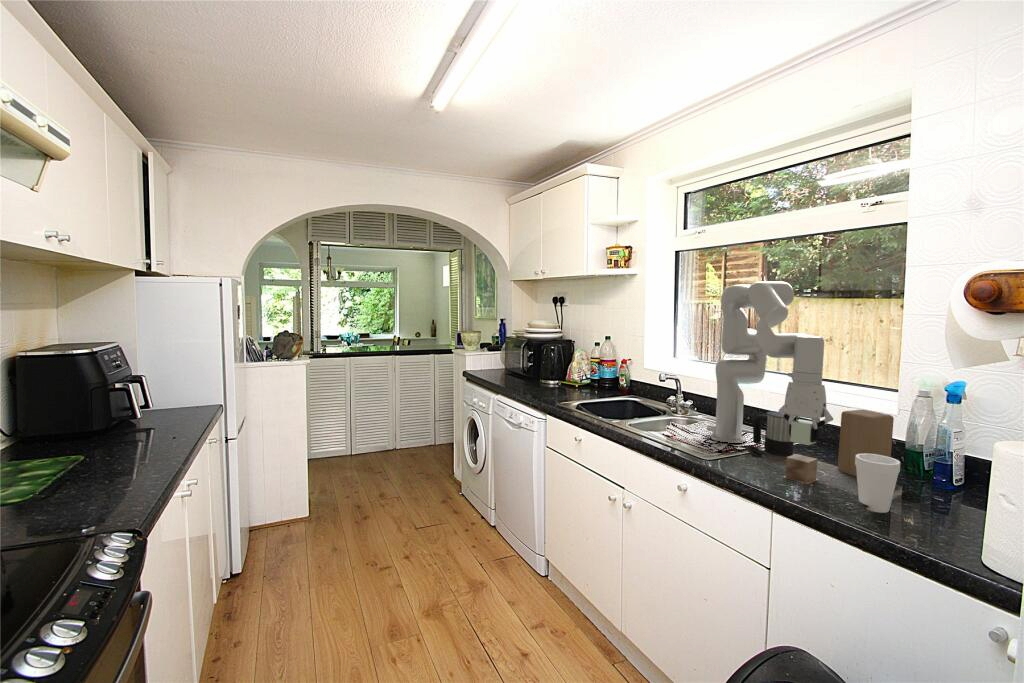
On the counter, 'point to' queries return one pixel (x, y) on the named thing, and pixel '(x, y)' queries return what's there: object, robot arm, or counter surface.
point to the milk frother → (772, 435)
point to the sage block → (801, 432)
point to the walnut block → (801, 468)
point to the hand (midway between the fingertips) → (803, 438)
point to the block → (863, 437)
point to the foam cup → (876, 480)
